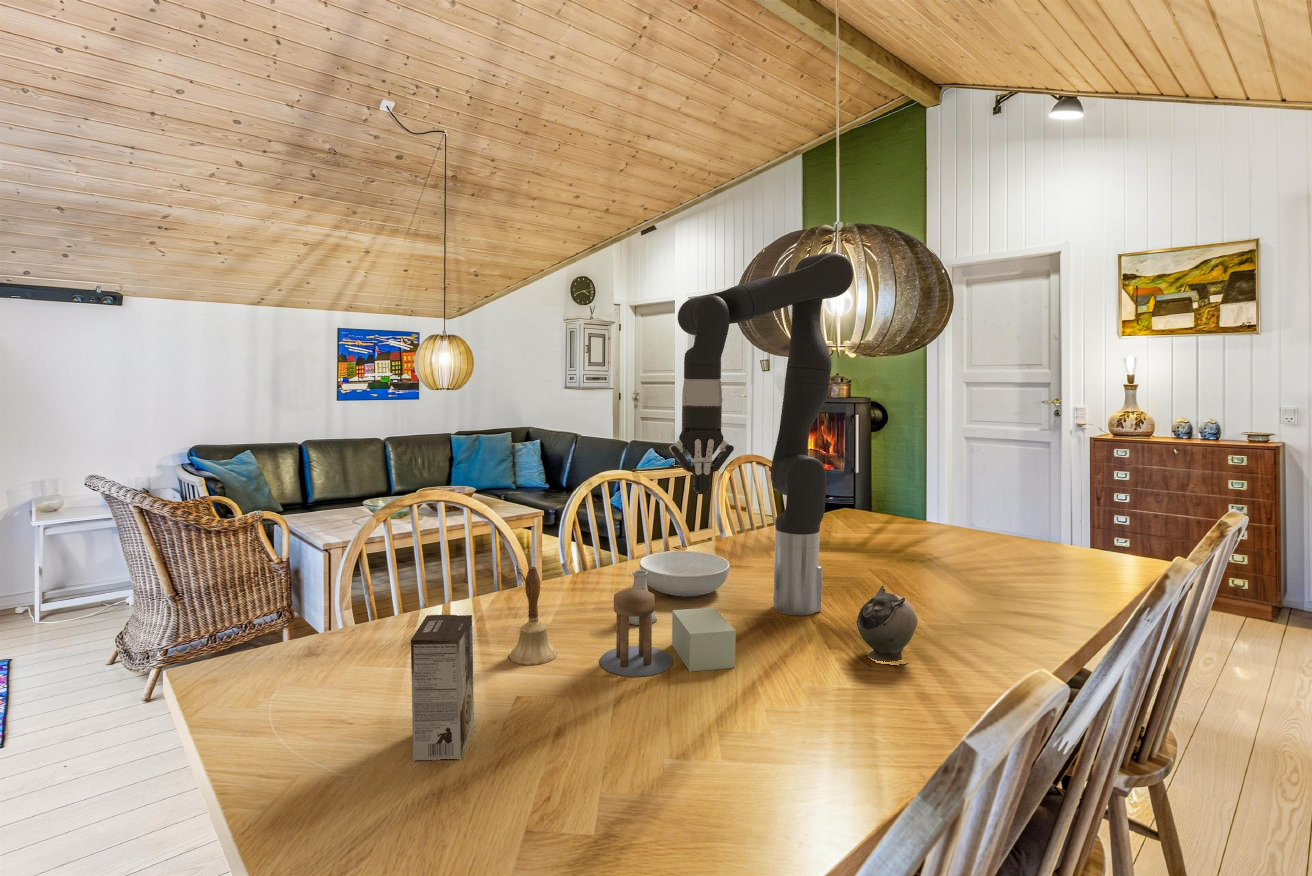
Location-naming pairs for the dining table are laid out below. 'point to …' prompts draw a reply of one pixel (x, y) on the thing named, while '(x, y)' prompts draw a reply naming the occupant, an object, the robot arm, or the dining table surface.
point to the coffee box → (442, 687)
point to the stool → (643, 607)
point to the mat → (636, 663)
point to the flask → (640, 585)
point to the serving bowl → (685, 572)
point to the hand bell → (533, 630)
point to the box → (703, 639)
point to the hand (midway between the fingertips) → (700, 493)
